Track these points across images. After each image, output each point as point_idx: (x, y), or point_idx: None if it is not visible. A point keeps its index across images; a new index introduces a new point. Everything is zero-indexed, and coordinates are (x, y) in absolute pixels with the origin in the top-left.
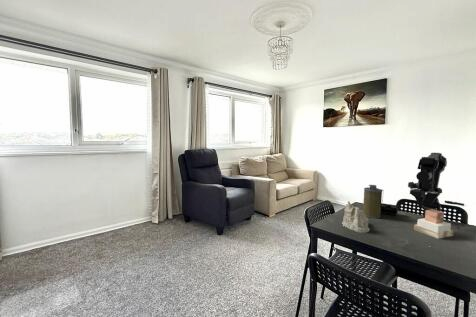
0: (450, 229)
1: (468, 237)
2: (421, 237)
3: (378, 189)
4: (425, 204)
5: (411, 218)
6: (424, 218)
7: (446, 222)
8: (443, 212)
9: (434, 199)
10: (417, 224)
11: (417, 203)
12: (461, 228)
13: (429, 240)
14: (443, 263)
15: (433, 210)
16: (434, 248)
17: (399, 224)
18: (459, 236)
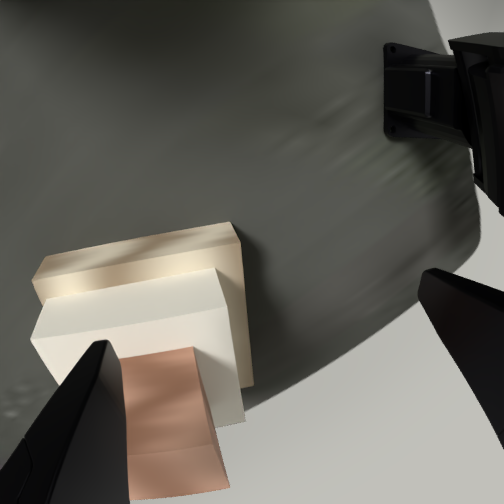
0: (246, 377)
1: (297, 375)
2: (21, 358)
3: None
4: (491, 108)
5: (297, 9)
6: (121, 332)
7: (237, 408)
8: (224, 487)
9: (480, 398)
10: (44, 308)
11: (61, 391)
12: (411, 275)
13: (42, 387)
14: (3, 461)
15: (174, 468)
16: (21, 426)
17: (11, 132)
18: (265, 368)
